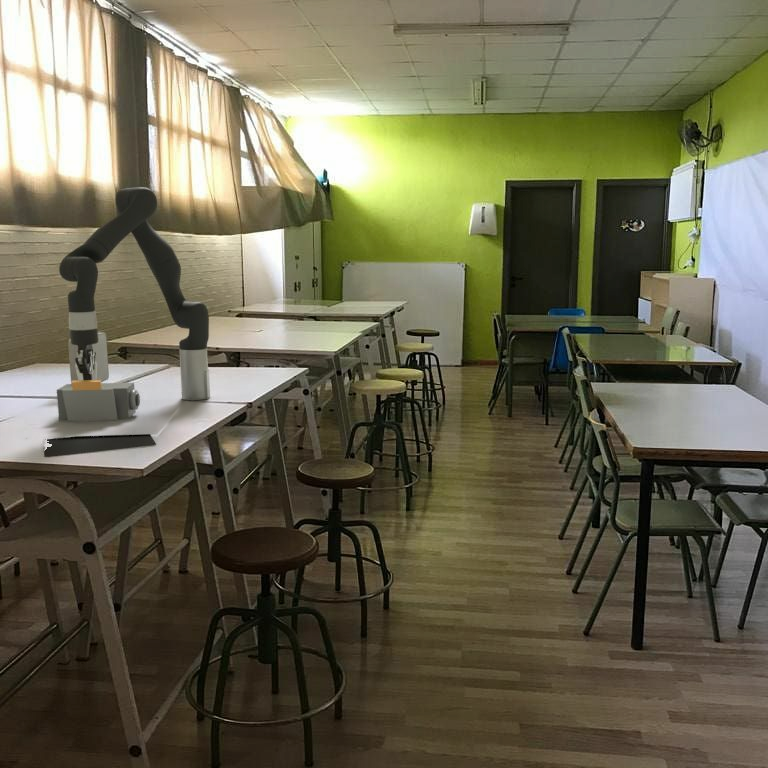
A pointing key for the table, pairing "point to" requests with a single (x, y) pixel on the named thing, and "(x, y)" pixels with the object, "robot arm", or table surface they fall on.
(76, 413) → the side door
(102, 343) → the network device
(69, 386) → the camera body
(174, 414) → the table surface
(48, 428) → the table surface
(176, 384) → the table surface
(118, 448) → the tablet
